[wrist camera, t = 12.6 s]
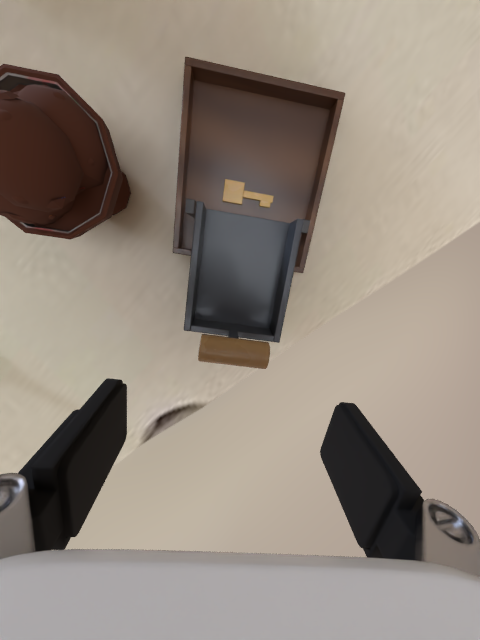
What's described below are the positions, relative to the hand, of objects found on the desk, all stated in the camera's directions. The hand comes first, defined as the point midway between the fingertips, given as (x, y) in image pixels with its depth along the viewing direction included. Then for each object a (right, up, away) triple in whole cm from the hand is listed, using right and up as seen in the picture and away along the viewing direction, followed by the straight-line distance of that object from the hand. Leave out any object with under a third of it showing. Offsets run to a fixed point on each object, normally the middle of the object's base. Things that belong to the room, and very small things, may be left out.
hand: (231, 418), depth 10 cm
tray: (+2, +20, +16) cm, 26 cm away
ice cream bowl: (-15, +19, +16) cm, 29 cm away
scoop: (0, +8, +13) cm, 16 cm away
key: (+1, +18, +16) cm, 24 cm away
